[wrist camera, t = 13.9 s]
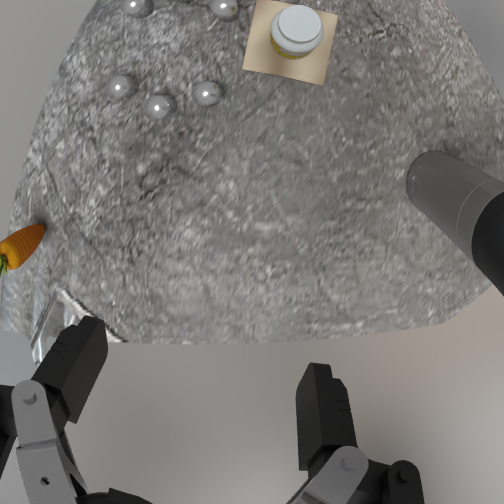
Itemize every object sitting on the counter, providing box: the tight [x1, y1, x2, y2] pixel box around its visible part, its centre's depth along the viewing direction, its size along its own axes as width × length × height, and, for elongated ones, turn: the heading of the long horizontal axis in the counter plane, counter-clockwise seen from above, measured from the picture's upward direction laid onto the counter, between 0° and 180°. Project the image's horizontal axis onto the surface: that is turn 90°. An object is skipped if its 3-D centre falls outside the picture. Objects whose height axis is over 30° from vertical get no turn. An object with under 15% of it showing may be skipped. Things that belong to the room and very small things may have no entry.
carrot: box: [0, 224, 45, 276], centre depth 39 cm, size 5×5×15 cm
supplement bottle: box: [270, 5, 324, 60], centre depth 27 cm, size 5×5×10 cm
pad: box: [242, 0, 338, 86], centre depth 32 cm, size 10×10×1 cm
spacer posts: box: [105, 0, 239, 120], centre depth 31 cm, size 14×19×4 cm
